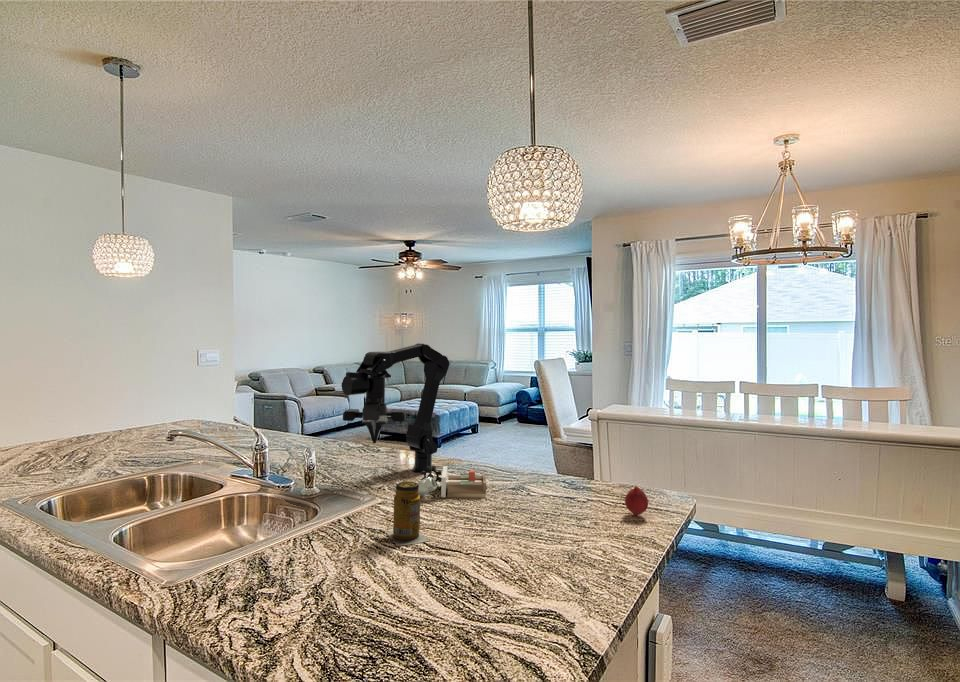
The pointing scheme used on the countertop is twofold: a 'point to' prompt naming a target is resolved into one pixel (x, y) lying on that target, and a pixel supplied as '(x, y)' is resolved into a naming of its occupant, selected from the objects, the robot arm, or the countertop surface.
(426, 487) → the valve
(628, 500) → the onion
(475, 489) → the gauge housing
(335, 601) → the countertop surface
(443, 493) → the white t-shaped slider
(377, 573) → the countertop surface
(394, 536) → the condiment
